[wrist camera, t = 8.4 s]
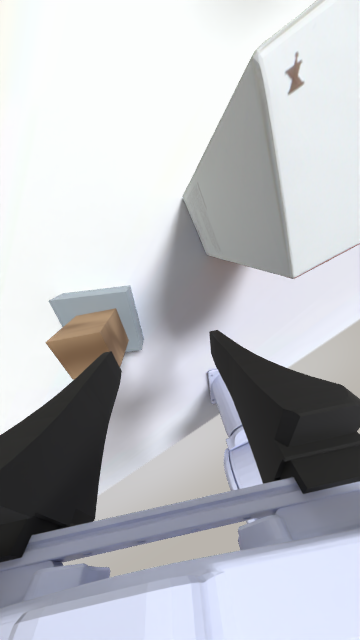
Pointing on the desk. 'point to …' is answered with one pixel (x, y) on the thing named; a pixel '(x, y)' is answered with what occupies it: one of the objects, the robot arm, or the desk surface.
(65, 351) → the walnut block
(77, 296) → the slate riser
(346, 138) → the small box
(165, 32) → the desk surface
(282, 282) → the desk surface
